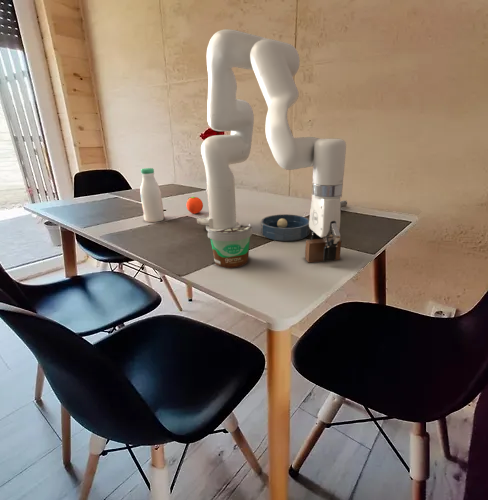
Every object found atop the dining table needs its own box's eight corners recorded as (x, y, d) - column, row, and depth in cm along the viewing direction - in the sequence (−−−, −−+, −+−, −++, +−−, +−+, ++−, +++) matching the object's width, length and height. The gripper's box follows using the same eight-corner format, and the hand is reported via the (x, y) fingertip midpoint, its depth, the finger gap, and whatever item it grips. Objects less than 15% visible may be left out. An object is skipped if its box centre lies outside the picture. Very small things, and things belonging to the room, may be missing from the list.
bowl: (267, 244, 97) (267, 230, 96) (257, 228, 112) (256, 216, 110) (316, 239, 100) (317, 226, 98) (300, 224, 115) (300, 213, 113)
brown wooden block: (308, 262, 84) (309, 243, 82) (304, 258, 86) (305, 240, 84) (339, 259, 85) (341, 240, 83) (335, 255, 88) (337, 237, 86)
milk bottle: (168, 218, 126) (162, 168, 118) (153, 223, 120) (145, 170, 112) (155, 216, 130) (148, 166, 122) (140, 220, 124) (131, 169, 116)
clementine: (182, 213, 133) (180, 196, 130) (195, 209, 138) (193, 193, 135) (194, 216, 128) (192, 199, 125) (207, 212, 133) (205, 196, 130)
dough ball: (278, 230, 107) (278, 220, 106) (275, 227, 111) (275, 217, 109) (288, 229, 108) (288, 219, 107) (285, 226, 111) (285, 216, 110)
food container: (216, 273, 79) (213, 236, 75) (209, 264, 84) (206, 229, 80) (260, 264, 83) (260, 229, 79) (251, 256, 88) (250, 222, 85)
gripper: (301, 185, 86) (299, 244, 92) (326, 198, 70) (322, 268, 77) (327, 183, 87) (323, 242, 94) (357, 196, 71) (350, 265, 78)
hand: (322, 253), depth 85 cm, fingers open, 8 cm apart
